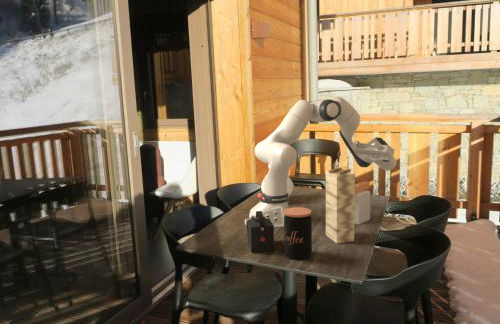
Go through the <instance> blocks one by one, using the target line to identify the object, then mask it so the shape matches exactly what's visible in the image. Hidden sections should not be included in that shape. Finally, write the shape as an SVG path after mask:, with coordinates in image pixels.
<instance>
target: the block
mask: <svg viewBox="0 0 500 324" xmlns="http://www.w3.org/2000/svg"><path fill="white" fill-rule="evenodd" d="M370 183H371V182H370V181H364V180H363V181H361V182H359V183H355V193H357V192H360V191H363V190H366V191H367V190H368V189H370V188H371V187H370V186H371V184H370Z"/></svg>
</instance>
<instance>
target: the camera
mask: <svg viewBox="0 0 500 324" xmlns="http://www.w3.org/2000/svg"><path fill="white" fill-rule="evenodd" d="M245 219H246V224H245V226H246V233H245V234H246V242H247V246H248V248H249V249H250V252H251V253H255V252H256V253H263V252H264V251H266V252H272V251H273V252H274V251H275V231H274V230H275V228H274V225H273V224H272V222H271V220H270V219H269V217H268V216H266V217H263V213H262V211H256V216H252V218H249V217H246V218H245Z"/></svg>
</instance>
